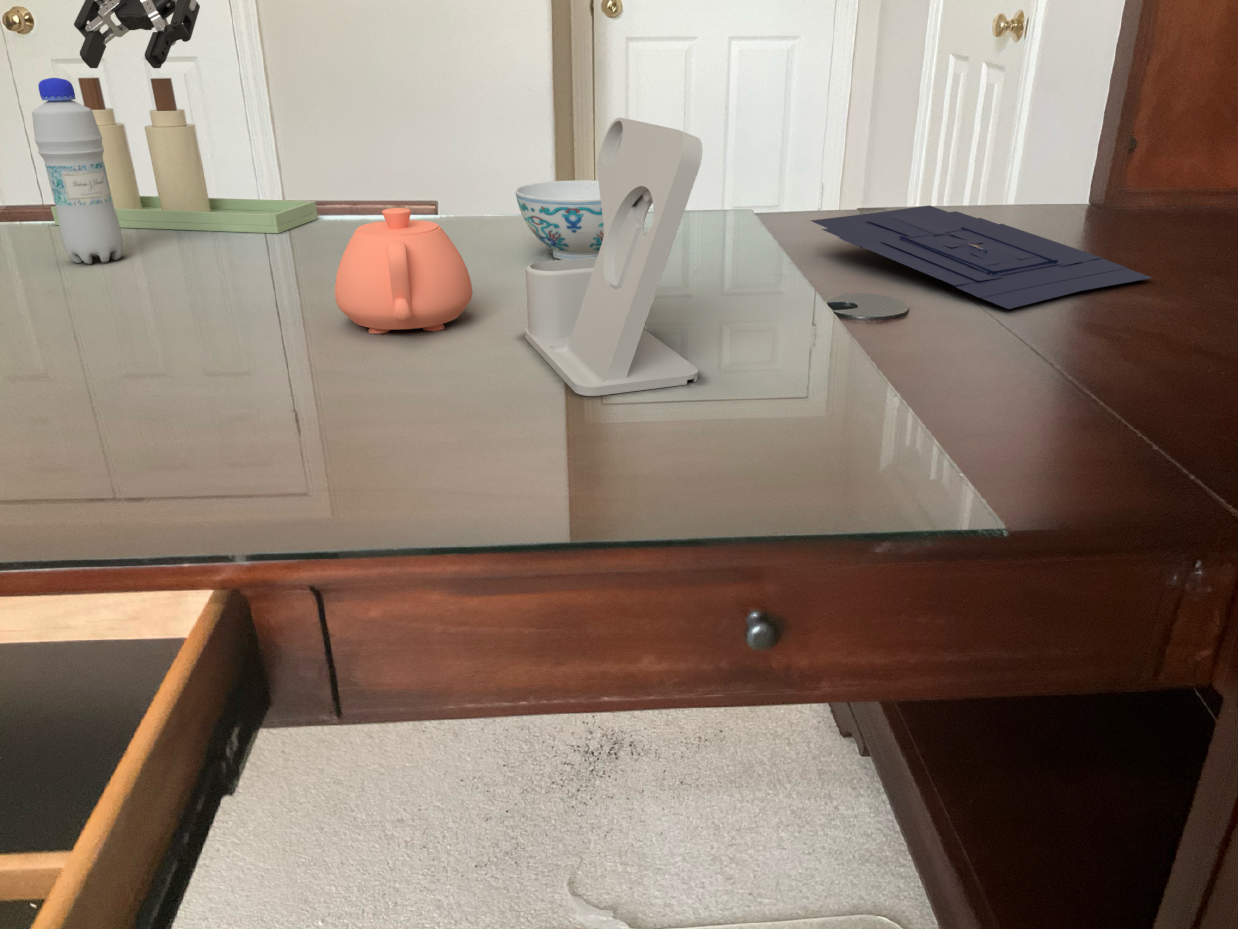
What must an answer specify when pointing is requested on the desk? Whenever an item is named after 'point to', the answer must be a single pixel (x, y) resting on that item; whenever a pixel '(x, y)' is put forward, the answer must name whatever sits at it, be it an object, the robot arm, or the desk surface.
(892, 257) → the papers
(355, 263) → the orange teapot
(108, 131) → the stoneware bottle
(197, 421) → the desk surface
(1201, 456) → the desk surface
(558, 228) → the chinaware
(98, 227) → the bottle
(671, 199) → the phone holder
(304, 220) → the tray
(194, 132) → the stoneware bottle
